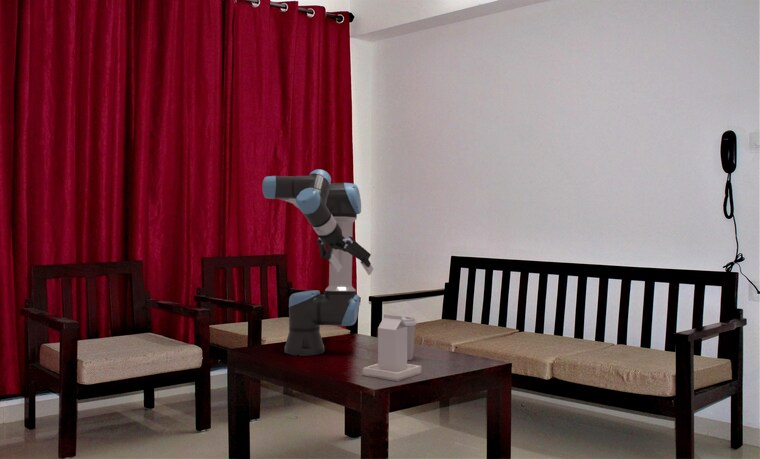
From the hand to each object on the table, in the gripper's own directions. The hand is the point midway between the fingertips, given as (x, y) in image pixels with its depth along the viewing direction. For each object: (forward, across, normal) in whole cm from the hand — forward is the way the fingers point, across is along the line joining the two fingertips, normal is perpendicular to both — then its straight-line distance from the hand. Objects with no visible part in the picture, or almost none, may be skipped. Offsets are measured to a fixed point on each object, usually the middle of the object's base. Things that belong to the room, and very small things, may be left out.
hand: (355, 270), depth 256 cm
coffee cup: (+40, +5, -8) cm, 41 cm away
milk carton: (+23, +16, -24) cm, 37 cm away
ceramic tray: (+24, +16, -24) cm, 37 cm away
